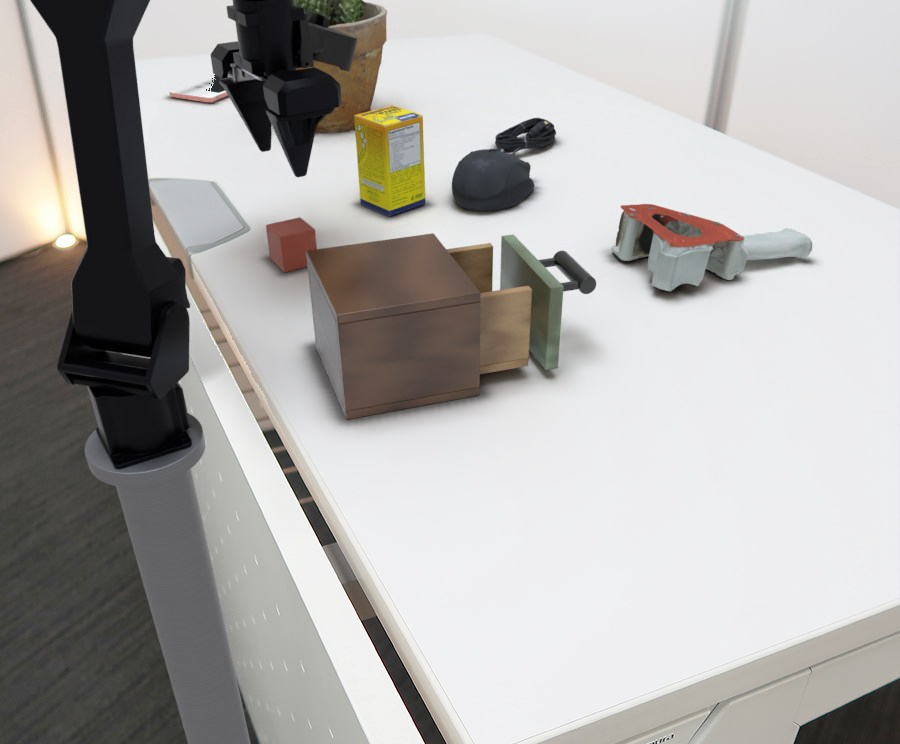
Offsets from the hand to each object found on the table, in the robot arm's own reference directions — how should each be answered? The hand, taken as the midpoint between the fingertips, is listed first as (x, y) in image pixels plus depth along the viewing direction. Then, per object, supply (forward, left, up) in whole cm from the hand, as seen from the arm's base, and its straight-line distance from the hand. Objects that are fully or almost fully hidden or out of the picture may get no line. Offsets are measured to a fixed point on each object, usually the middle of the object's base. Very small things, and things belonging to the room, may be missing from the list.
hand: (282, 163), depth 94 cm
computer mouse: (+36, +11, -11) cm, 39 cm away
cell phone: (+18, +72, -11) cm, 75 cm away
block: (0, 0, -11) cm, 11 cm away
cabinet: (-1, -26, -11) cm, 28 cm away
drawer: (+8, -28, -10) cm, 31 cm away
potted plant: (+25, +44, -11) cm, 52 cm away
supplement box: (+17, +9, -11) cm, 22 cm away
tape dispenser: (+36, -25, -11) cm, 45 cm away
